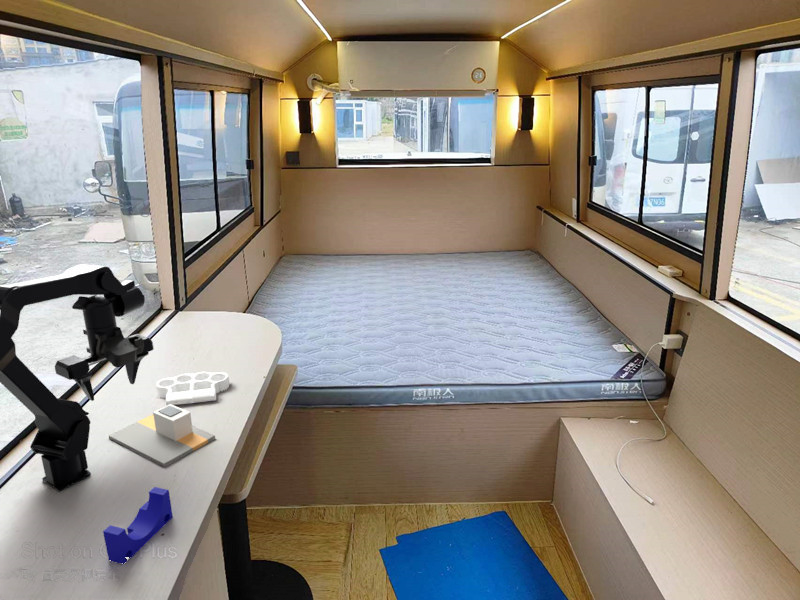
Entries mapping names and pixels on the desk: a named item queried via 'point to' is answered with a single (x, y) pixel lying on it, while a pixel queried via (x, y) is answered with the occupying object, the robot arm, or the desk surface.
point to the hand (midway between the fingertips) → (112, 391)
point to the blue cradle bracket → (139, 527)
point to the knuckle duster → (192, 387)
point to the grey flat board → (159, 441)
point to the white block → (173, 422)
